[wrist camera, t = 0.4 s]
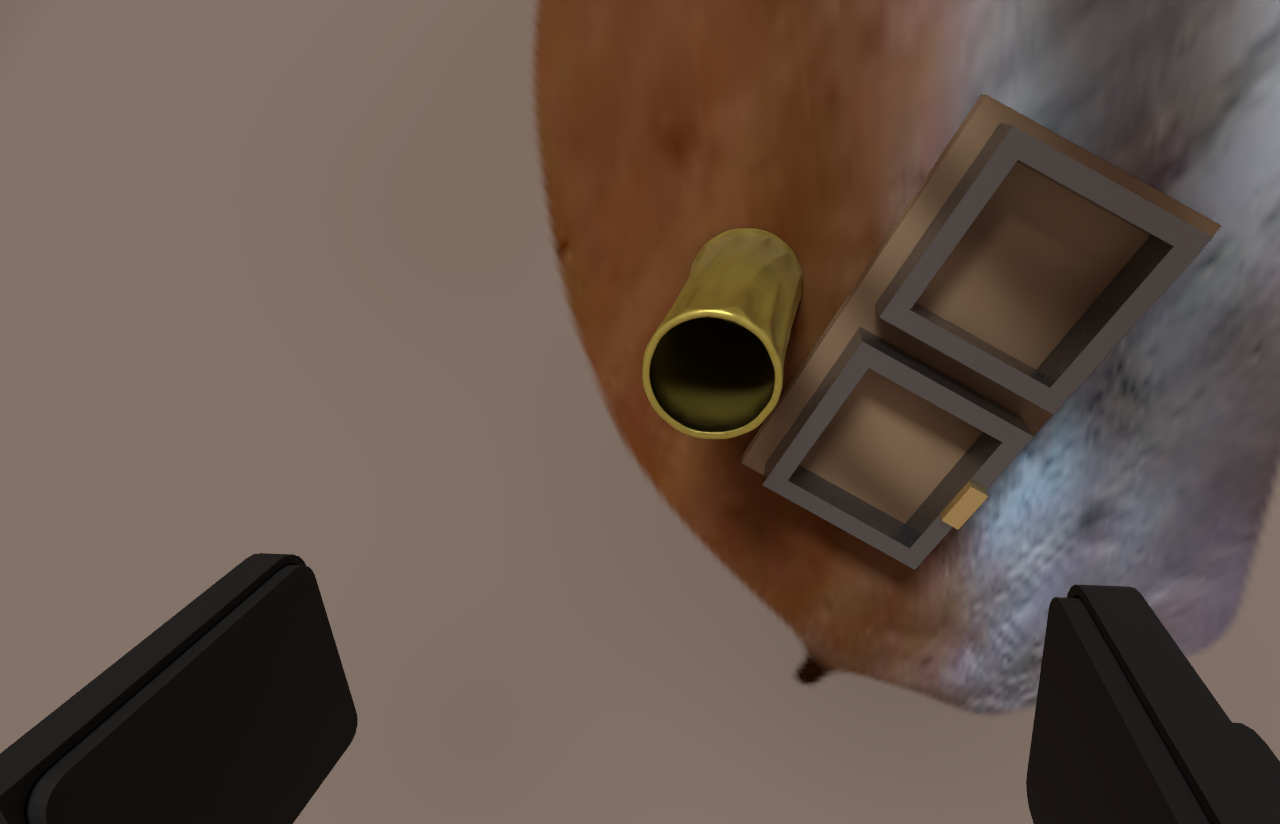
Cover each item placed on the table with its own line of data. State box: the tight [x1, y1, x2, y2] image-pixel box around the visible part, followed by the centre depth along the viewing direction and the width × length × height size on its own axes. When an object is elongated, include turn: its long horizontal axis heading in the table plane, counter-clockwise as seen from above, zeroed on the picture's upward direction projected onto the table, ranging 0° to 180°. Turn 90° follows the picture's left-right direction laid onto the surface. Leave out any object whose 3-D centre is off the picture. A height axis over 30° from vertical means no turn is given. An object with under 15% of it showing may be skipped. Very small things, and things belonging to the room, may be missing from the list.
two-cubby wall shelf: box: [762, 123, 1213, 570], centre depth 36 cm, size 21×10×3 cm, turn 153°
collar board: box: [741, 95, 1221, 524], centre depth 38 cm, size 22×12×1 cm, turn 153°
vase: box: [642, 228, 803, 439], centre depth 33 cm, size 6×6×14 cm
